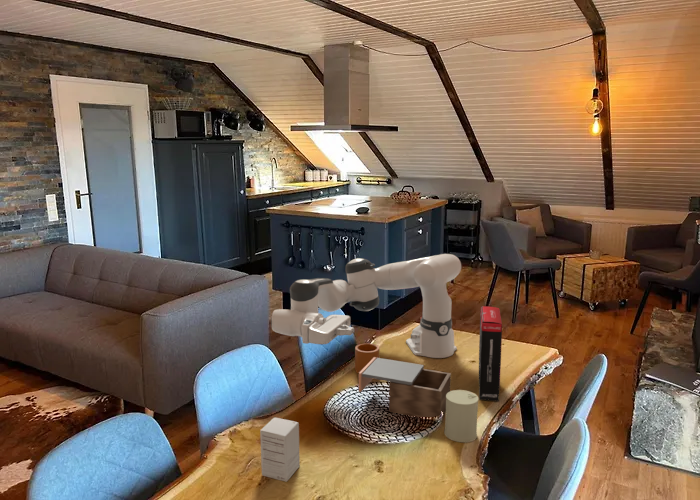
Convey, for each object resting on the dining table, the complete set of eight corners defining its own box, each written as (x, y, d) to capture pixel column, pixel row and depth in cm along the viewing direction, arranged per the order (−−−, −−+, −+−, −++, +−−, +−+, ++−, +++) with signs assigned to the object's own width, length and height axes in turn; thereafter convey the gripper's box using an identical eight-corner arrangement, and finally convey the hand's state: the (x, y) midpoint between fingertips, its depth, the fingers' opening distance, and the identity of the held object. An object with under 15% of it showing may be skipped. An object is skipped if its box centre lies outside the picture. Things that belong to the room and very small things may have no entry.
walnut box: (389, 412, 169) (389, 382, 167) (402, 393, 182) (403, 365, 180) (439, 422, 163) (440, 391, 161) (449, 402, 176) (451, 373, 174)
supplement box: (275, 460, 144) (274, 416, 141) (300, 466, 141) (299, 421, 139) (260, 475, 137) (259, 429, 135) (286, 482, 134) (285, 435, 132)
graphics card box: (499, 403, 176) (504, 322, 170) (477, 401, 177) (481, 320, 172) (496, 380, 192) (501, 306, 187) (476, 379, 193) (480, 305, 188)
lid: (358, 391, 172) (358, 373, 171) (373, 374, 185) (374, 357, 184) (411, 401, 166) (411, 382, 165) (423, 383, 178) (423, 365, 177)
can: (482, 440, 154) (484, 401, 151) (451, 444, 152) (453, 404, 149) (468, 424, 162) (470, 386, 160) (439, 427, 161) (441, 389, 158)
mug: (388, 366, 204) (388, 344, 202) (370, 378, 195) (371, 354, 193) (368, 360, 209) (368, 338, 207) (350, 371, 200) (350, 348, 198)
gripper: (327, 325, 192) (364, 330, 187) (300, 345, 174) (340, 351, 169) (327, 308, 191) (364, 313, 186) (300, 326, 173) (340, 332, 167)
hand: (352, 331), depth 177 cm, fingers closed
